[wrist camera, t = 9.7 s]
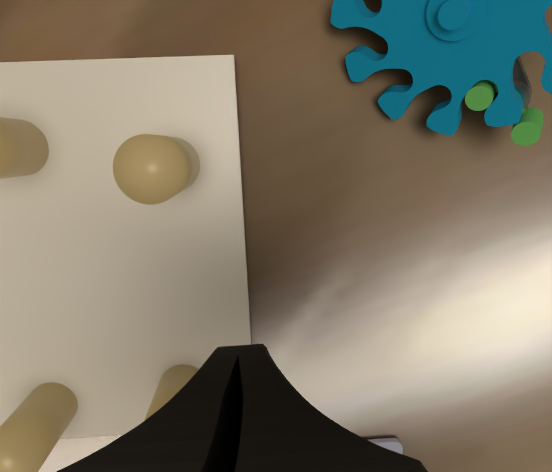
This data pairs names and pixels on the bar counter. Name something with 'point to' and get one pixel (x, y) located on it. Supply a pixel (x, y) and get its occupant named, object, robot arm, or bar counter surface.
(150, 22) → the bar counter surface
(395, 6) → the gear
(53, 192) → the tray
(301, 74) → the bar counter surface
